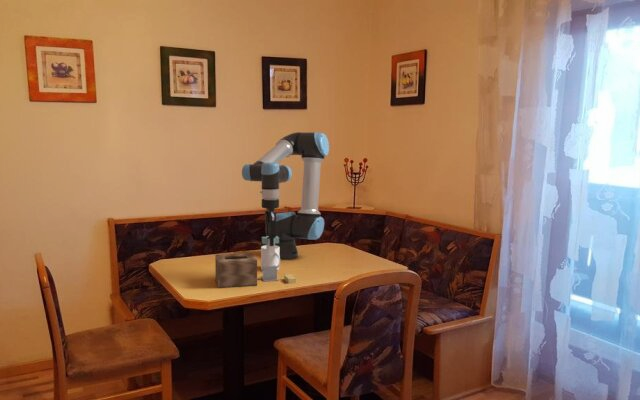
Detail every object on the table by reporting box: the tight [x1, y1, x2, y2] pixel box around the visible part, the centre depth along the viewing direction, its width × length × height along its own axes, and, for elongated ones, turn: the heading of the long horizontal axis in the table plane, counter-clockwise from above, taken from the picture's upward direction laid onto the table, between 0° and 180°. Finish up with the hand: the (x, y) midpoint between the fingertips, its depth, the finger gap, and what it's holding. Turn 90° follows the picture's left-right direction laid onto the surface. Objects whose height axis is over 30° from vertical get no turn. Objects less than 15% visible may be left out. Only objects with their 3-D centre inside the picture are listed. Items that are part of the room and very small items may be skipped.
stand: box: [260, 266, 279, 282], centre depth 226 cm, size 6×6×6 cm
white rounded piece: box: [260, 245, 281, 271], centre depth 241 cm, size 9×12×11 cm
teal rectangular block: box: [261, 236, 279, 245], centre depth 224 cm, size 7×3×2 cm, turn 106°
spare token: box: [283, 273, 297, 285], centre depth 223 cm, size 7×3×2 cm, turn 19°
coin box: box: [214, 252, 258, 289], centre depth 219 cm, size 16×13×11 cm
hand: (270, 251), depth 225 cm, fingers closed on teal rectangular block, 3 cm apart
